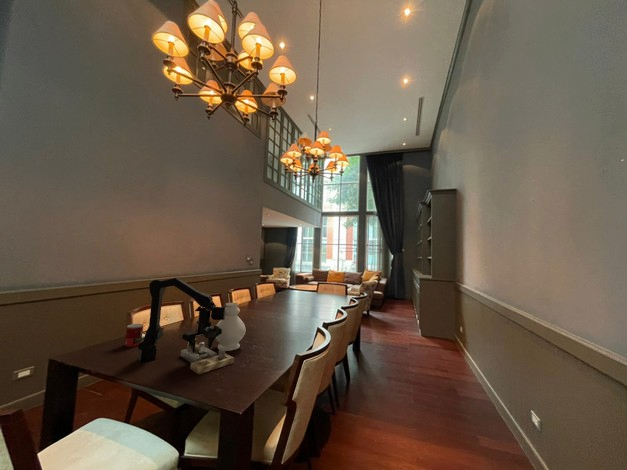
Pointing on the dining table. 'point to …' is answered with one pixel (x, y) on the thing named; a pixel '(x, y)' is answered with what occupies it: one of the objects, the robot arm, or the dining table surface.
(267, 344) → the dining table surface
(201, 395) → the dining table surface
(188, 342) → the key
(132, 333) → the canned food
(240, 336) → the decorative vase
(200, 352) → the grey rounded cylinder
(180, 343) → the dining table surface
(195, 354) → the socket
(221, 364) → the rack
